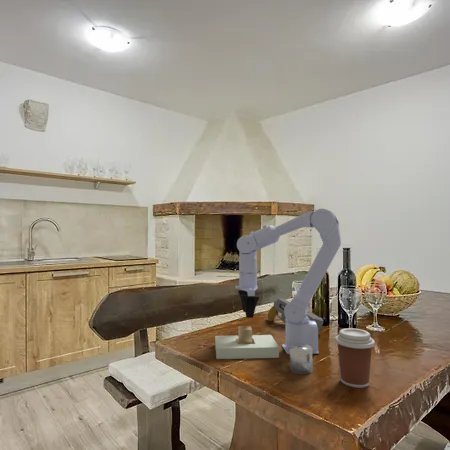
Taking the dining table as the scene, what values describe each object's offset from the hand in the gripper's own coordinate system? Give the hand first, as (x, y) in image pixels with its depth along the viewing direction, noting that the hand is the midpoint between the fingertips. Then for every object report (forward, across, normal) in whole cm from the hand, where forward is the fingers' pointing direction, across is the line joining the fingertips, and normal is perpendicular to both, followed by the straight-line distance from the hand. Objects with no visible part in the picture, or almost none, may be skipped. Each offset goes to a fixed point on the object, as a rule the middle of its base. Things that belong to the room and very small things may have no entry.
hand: (248, 314), depth 114 cm
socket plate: (+9, +7, -2) cm, 12 cm away
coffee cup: (+10, +30, +22) cm, 38 cm away
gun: (+10, -18, +20) cm, 29 cm away
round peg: (+10, +22, +11) cm, 26 cm away
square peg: (+10, +7, -2) cm, 12 cm away
